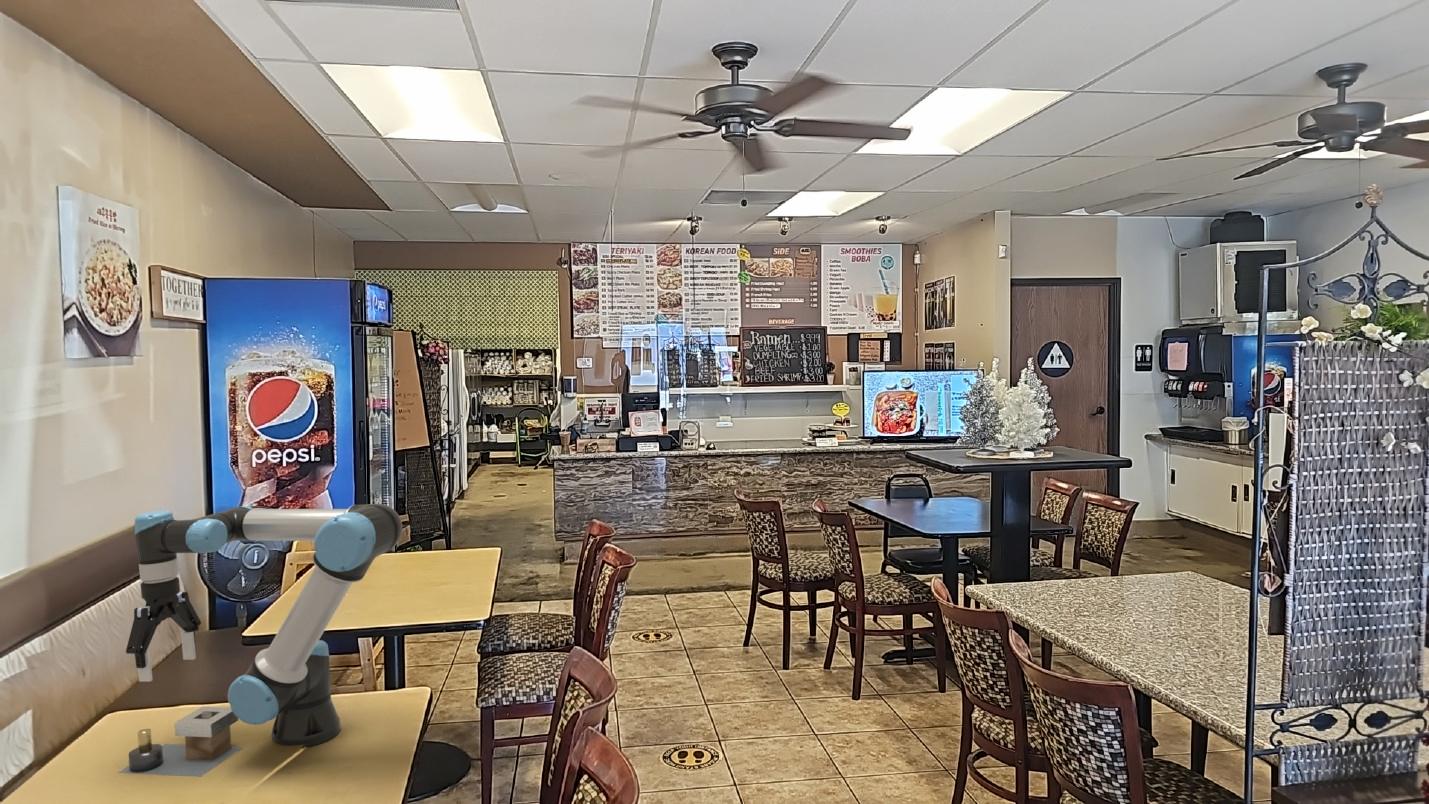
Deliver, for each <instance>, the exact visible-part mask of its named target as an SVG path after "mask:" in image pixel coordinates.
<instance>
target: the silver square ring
mask: <svg viewBox="0 0 1429 804" xmlns="http://www.w3.org/2000/svg"><path fill="white" fill-rule="evenodd" d="M207 711H211V712H212V717H211V718H210V719H202V713H203V712H207ZM238 721H239V718H238V717H237V716H236V715H235V714H234V713H233V711H232V710H231V707H227V706H222V707H221V706H201V707H199V708H197V709H196V710H194V711H191V712H190V713H188V714H187V715H185V716H184V717H182V718H181V719H179V720H177V721H176V722H174V734H175V735H174V736H175V737H176V736H177V737H185V736H192V737H213V736H215V735H216V734H218V733H219V732H221V731H222V730H224V729H226V728H227V727H229V726H230V727H231V726H232V725H233V724H235V723H236V722H238Z"/></svg>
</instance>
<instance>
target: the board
mask: <svg viewBox="0 0 1429 804" xmlns="http://www.w3.org/2000/svg"><path fill="white" fill-rule="evenodd" d="M242 749H243V747H241V746H231V748H229V749H228V750H226V751H225V752H224V753H222V754H221V755H219V756H218V757H216V758H215V759H213V760H196V759H186V745H185V744H177V743H165V744H162V750H163V764H162V765H161V766H159V767H157V768H155V769H153V770H150V771H146V772H140V773H134V772H131V771H130V769H129V765H128V766H126V767H124V768H123V769H121V770H120V771H118V774H139V775H158V776H161V775H162V776H178V777H199V778H200V777H203V776H204V775H205V774H207V773H208V772H210V771H211V770H213V769H214V768H215V767H217V766H218V765H220V764H222V763H223V762H224V761H225V760H227V759H229V758H230V757H231V756H233V755H235V754H236V753H237V752H238V751H240V750H242Z"/></svg>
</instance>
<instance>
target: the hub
mask: <svg viewBox="0 0 1429 804" xmlns="http://www.w3.org/2000/svg"><path fill="white" fill-rule="evenodd" d="M152 740H153V739H152V729H151V728H144V729H140V730H138V731H137V742H138V747H135V748H134V749H132V750H130V751H129V752H128V766H129V769H130V771H131V772H134V773H140V772H146V771H150V770H153V769H155V768H157V767H159V766H161V765H162V764H163V750H162V746H163V744H162V745H161V744H160V743H159V744H158V743H153V742H152ZM134 773H133V774H134Z"/></svg>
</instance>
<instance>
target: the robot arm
mask: <svg viewBox="0 0 1429 804" xmlns="http://www.w3.org/2000/svg"><path fill="white" fill-rule="evenodd" d="M402 534H403V523H402V518H401V516H400V515H399V513H398V512H397V511H396V510H395V509H394V508H392V507H391V506H389V505H386V504H384V503H370V504H368V503H367V504H353V505H351V506H349V507H348V508H253V507H251V506H249V505H243V506H236V507H235V506H234V507H232V508H229V509H226V510H223V511H220V512H217V513H216V512H215V513H211V514H208V515H205V516H201V517H197V518H193V519H182V520H181V519H178V520H177V519H175V518H174V515H173V512H172V511H171V510H166V509H165V510H154V511H148V512H144V513H139V514H137V516H135V519H134V536H135V543H136V550H137V551H136V552H137V559H138V560H137V561H138V569H139V580H140V581H141V584H140V593H141V595H140V596H141V598H142V599H143V600H144V601H145V606H143V607H135V608H134V609H133V622H132V625H131V630H130V634H129V637H128V641H127V644H126V649H125V653H126V654H131V655H134V657H135V658H134V659H135V667H136V669H137V673H138V674H137V676H138V682H139V683H140V682H149V683H150V682H152V681H153V671H152V662H151V661H152V660H151V652H150V651H148V649H149V646H150V645H151V641H152V639H153V637H154V634H156V633H155V632H156V630H157V627H158V626H159V625H160V624H161V622H163V621H165V620H166V619H168V618H169V619H170V618H171V620H172V621H173V622H175V623H176V625H178V627H179V628H181V629H182V632H180V640H181V646H182V648H181V650H182V660H185V661H186V660H187V661H188V660H190V661H191V660H192V661H193V660H195V659H197V657H196V655H197V654H196V645H195V644H196V636H195V635H196V634H195V632H197V631H199V628H200V627H199V626H201V624H202V622H201V619H200V617H199V616H198V613H197V612H196V610H195V608H194V606H193V605H192V603H191V601H190V598H189V593H188V591H181V585H180V577H178V575H179V574H180V571H179V563H178V556H177V554H202V555H203V554H206V553H216V552H218V551H220V550H221V549H222V548H223V546H225V544H228V543H231V542H235V541H243V542H244V541H271V542H272V541H281V542H282V541H283V542H284V541H285V542H289V541H290V542H292V541H293V542H295V541H296V542H313V548H314V549H315V551H314V553H313V555H312V562H313V565H314V568H313V570H312V571H311V573H310V575H309V577H308V579H307V580H306V582H305V584H304V585H303V587H302V589H301V591H300V592H299V594H298V596H297V598H296V600H295V601H294V603H293V605H292V607H291V608H290V610H289V611H288V614H287V616H286V617H285V619H284V620H283V622H282V625H280V627H279V629H278V631H277V632H276V635H274V636H275V637H274V638H273V640H272V642H271V643H270V646H269V647H266V648H264V649H262V650H260V651H259V652H258V653H256V656H255V657H254V659H253V660H252V662H251V664H250V666H249V667H248V670H246V671H245V673H244V674H243V675H240V676H238V677H236V679H234V680H233V682H232V683H231V684H230V685H229V688H228V691H227V701H228V704H229V706H230V708H231V710H232V711H233V713H234V714H235V715H236V716H237V717H238V720H240V721H242V722H243V723H246V724H248V725H252V726H256V725H264V724H265V723H268V722H269V721H272V720H274V719H275V720H274V723H273V726H272V729H271V740H272V742H273V743H275V744H278V745H282V746H301V748H302V749H304V748H308V747H313V746H316V745H320V744H323V743H325V742H327V741H329V740H331V739H333V738H334V737H336V736H337V735H339V733H340V731H341V720H340V717H339V715H338V713H337V710H336V708H335V705H334V703H333V700H332V693H331V691H332V690H331V689H332V688H331V673H330V672H331V670H330V668H331V667H330V657H331V656H330V655H331V654H329V653H330V652H329V646H328V643H327V642H325V641H324V640H322V639H321V637H322V636H323V633H325V630H326V629H327V628H328V625H329V624H330V622H331V620H332V619H333V617H334V615H335V613H336V611H337V610H338V608H339V607H340V604H341V603H342V601H343V599H344V597H345V596H346V594H347V592H348V591H349V589H350V588H351V586H352V584H353V583H357V582H360V581H362V580H363V579H364V577H365V576H366V573H367V572H368V570H369V569H370V567H371V565H372V563H373V562H374V561H375V559H376V558H377V557H379V556H381V555H383V554H386V553H387V552H389V551H390V550H393V548H395V546H396V545H397V544H398V543H399V541H400V539H401V537H402ZM320 639H321V640H320Z"/></svg>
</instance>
